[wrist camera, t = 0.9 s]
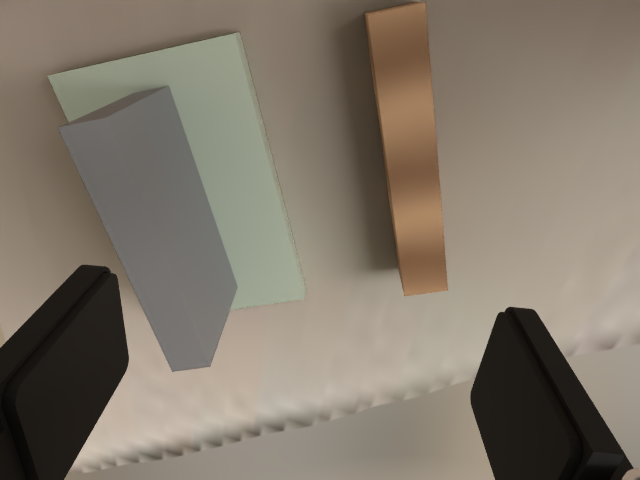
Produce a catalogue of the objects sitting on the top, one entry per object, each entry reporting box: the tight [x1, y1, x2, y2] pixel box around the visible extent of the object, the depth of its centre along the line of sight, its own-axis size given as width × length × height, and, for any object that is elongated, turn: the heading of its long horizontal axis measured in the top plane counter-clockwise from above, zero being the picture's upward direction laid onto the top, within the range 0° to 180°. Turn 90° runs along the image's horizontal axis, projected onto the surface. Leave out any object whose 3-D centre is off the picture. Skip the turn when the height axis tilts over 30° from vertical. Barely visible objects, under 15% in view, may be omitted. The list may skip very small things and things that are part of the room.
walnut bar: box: [364, 2, 448, 296], centre depth 29 cm, size 18×3×4 cm, turn 11°
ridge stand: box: [47, 32, 306, 372], centre depth 28 cm, size 12×19×10 cm, turn 11°
